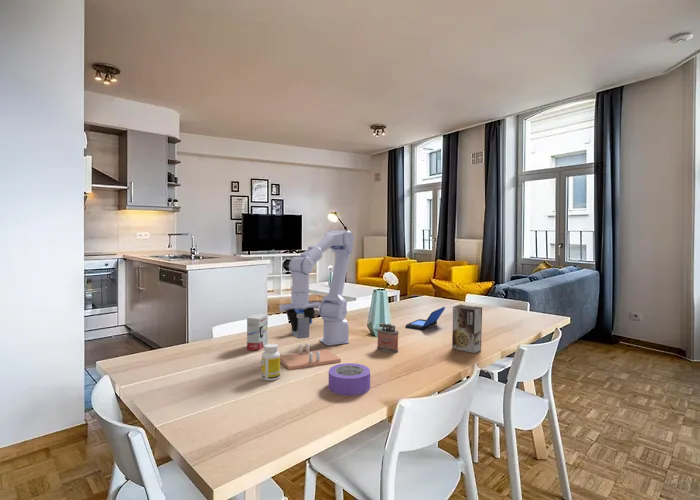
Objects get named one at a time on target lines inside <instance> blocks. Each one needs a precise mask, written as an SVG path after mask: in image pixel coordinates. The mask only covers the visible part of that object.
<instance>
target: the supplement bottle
mask: <svg viewBox="0 0 700 500" xmlns="http://www.w3.org/2000/svg"><path fill="white" fill-rule="evenodd" d="M278 349H279V345H278V344H277V343H268V344H266V345H264V347H263V351H264V352H263V353H261V379H262V380H263V381H268V382H269V381H270V382H271V381H272V382H273V381H276V380H279V379H280V378H281V361H280V355H281V353H280V352H279V351H278Z"/></svg>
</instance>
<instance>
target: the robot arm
mask: <svg viewBox="0 0 700 500" xmlns="http://www.w3.org/2000/svg"><path fill="white" fill-rule="evenodd" d="M354 242H355V238H354V235H353V232H352V231H351V230H349V229H347V230H332V229H329V230H328V231H327V232H325V233H324V237H323V238H322V239H321V240H320V241H319V242H318V243H317V244H316V245H309V246H307V249H306V250H305V251H303V252H302V253H301V252H300V255H298V256H294V257H293V258H291V259H290V261H289V264H288V270H289V272H290V277H291V279H292V280H291V281H292V282H291V283H292V284H291V285H292V288H291V289H292V290H291V293H292V294H291V295H292V296H291V299H292V301H291V303H286V304H279V305H278V306H279V310H278V311H280V312H284V311H285V312H286V314H287V316H288V320H289V322H290V326H291V331H292V330H293V331H296V317H297V313H296V312H295V310H301V309H304V315H306V316H308V317H309V326H310V325H311V324H310V321H311V319H312V320H313V317H314V315H315V313H316V309H318V314H319V316H320V317H321V320H323V330H322V331H323V335H322V337H323V338H320V339H319V342H321V343H322V344H324V345H325V346H327V347H328V346H335V345H342V344H349V343H350V341H349V323H348V320H347V319H346V316H347V312H348V308H347V305H348V301H347V300H346V299H345V298H344V297H343V294H344V289H345V282H346V277H347V273H348V272H347V271H348V267H349V263H350V257H351V253H352V251H353V248H354V247H353V246H354ZM329 249H330V250H331V251H332V252H333V253H334V254H335V256H336V258H335V262H334V265H333V271H332V277H331V281H330V286H329V291H328V294H327V295H325V296H323V298H322V301H321V302H320V301H317V302H316V301H312V302H311V301H310V300H309V299H310V297H309V296H310V273H311V272H312V271H313V268H314V266H315V265H316V263H317V262H319V261H320V260H321V259H322V257H323V253H324V252H326V251H327V250H329Z"/></svg>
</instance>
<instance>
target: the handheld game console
mask: <svg viewBox="0 0 700 500" xmlns="http://www.w3.org/2000/svg"><path fill="white" fill-rule="evenodd" d="M445 309H446V306H443V307H441V308H438V309H436V310H434V311H432V312H431V313H430V314H429V315H428V317H427V319H421V318H419V319H416V320H414V321H412V322H409V323H407V324H405V328H407V329H413V330H417V329H418V331H422V330H424V331H426V330H427V328H428V329H430V327H429V326H431V327H434V326H436V325H437V324H438V320H439V319H440V317H441V315H442V313H443V312H444V311H445ZM435 324H436V325H435ZM433 325H434V326H433ZM425 329H426V330H425Z"/></svg>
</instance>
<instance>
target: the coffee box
mask: <svg viewBox="0 0 700 500" xmlns="http://www.w3.org/2000/svg"><path fill="white" fill-rule="evenodd" d="M482 321H483V307H481V306H476V305H475V306H474V305H467V304H458V305H455V306H452V335H451V336H452V337H451V340H452V342H451V345H452V346H451V348H452V349H453V350H456V351H457V350H458V351H462V352H466V353H471V354H476V353H478V352H479V351H482V335H483V334H482V332H483V330H482V328H483V327H482V326H483V325H482V323H483V322H482Z"/></svg>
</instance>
